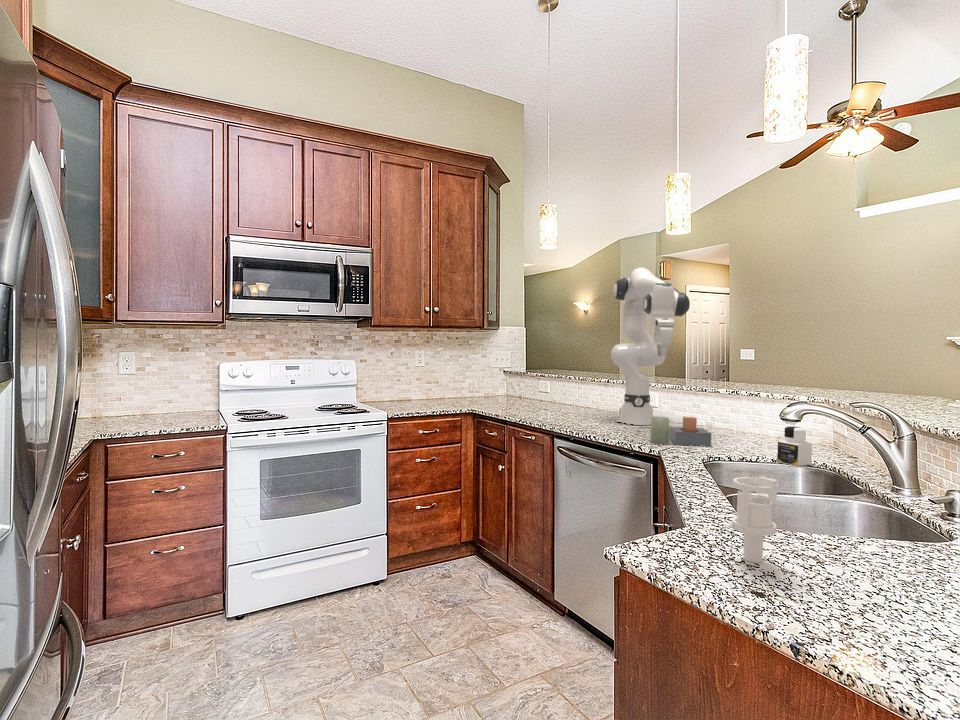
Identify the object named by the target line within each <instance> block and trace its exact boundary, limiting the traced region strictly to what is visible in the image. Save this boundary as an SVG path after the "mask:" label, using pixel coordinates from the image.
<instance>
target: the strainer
mask: <svg viewBox="0 0 960 720" xmlns="http://www.w3.org/2000/svg"><path fill="white" fill-rule="evenodd" d="M732 481H733V482H732V487H733V488H735V489H737V490H738V491H737V501H736V516H733V518H731V527H732V528H733V529H734V530H737V531H739V532H740V533H743V556H742V558H743V559H744V560H745V561H747V562H749V563H756V564H760V563H762V562H763V561H764V559H763V556H764V553H763V551H764V536H774V535H775V534H777V530H778V529H777V524H776V523H775V522H773V502H774V501H775V502H776V501H777V499H778V498H777V497H778V496H777V495H778V492H779V484H778V479H773V478H768V477H767V476H759V477H744V476H743V477H742V476H741V477H734V478H733V479H732ZM754 492H755V494H757V495H756V496H757V497H753V493H754ZM771 501H772V502H771Z"/></svg>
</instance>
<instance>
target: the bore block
mask: <svg viewBox="0 0 960 720" xmlns="http://www.w3.org/2000/svg"><path fill="white" fill-rule="evenodd" d="M669 439H670V440H671V441H670V440H669V441H670V442H672V443H673V444H674V445H675V446H688V445H705V446H704V447H712V432H710V431H708V430H707V429H705V428H703V427H696V431H683V426H681V427H680V426H678V427H677V426H669Z"/></svg>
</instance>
